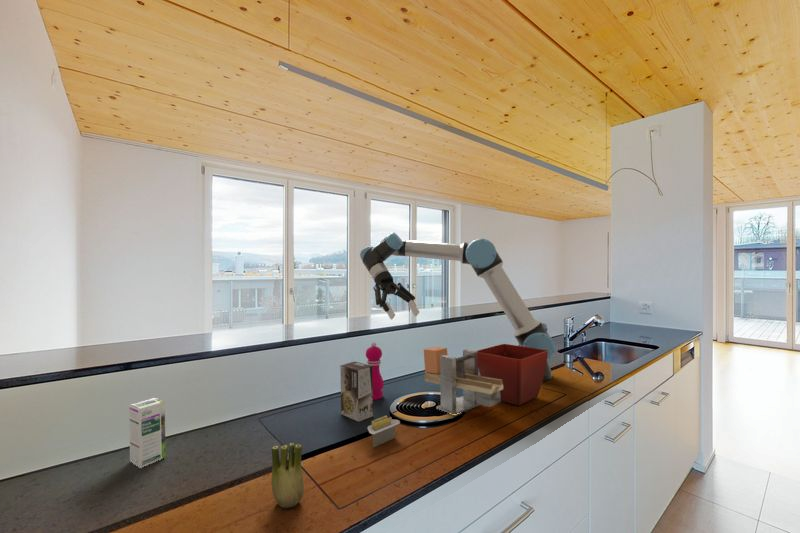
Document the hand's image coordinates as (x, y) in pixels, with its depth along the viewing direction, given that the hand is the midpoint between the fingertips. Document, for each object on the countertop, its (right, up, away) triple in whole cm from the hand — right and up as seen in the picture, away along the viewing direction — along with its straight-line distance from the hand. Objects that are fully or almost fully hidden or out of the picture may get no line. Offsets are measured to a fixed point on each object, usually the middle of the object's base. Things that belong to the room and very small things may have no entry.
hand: (405, 315), depth 142 cm
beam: (+19, -25, -21) cm, 37 cm away
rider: (+11, -20, -12) cm, 26 cm away
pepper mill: (-12, -29, -10) cm, 33 cm away
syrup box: (-65, -29, -53) cm, 89 cm away
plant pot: (+39, -28, -12) cm, 49 cm away
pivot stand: (+18, -28, -20) cm, 39 cm away
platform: (-7, -29, -44) cm, 53 cm away
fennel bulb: (-25, -29, -69) cm, 79 cm away
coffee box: (-16, -29, -26) cm, 42 cm away
